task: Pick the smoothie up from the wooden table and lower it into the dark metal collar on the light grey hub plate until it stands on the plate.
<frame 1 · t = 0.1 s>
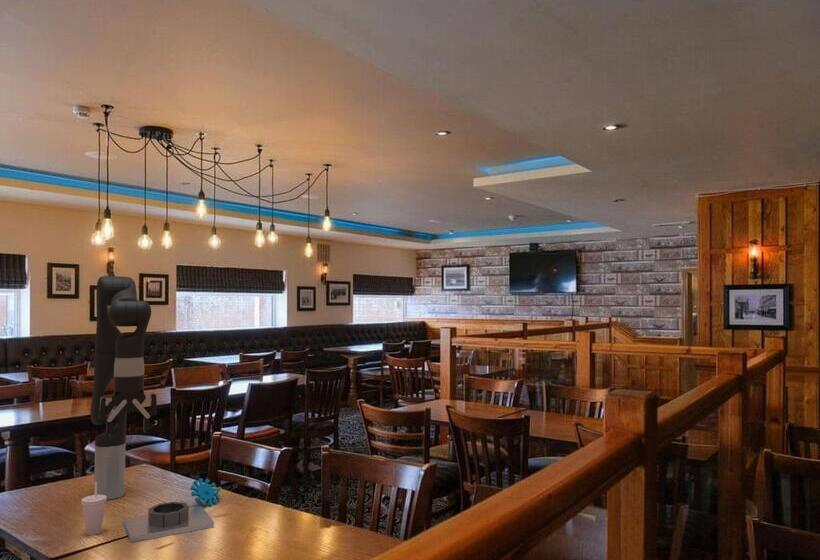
hand: (128, 433, 165), 29 cm above the table, tool pointing down, fingers open, 8 cm apart
hub plate: (168, 525, 176), on the table
smoothie: (93, 533, 170), on the table
gear: (206, 504, 195), on the table
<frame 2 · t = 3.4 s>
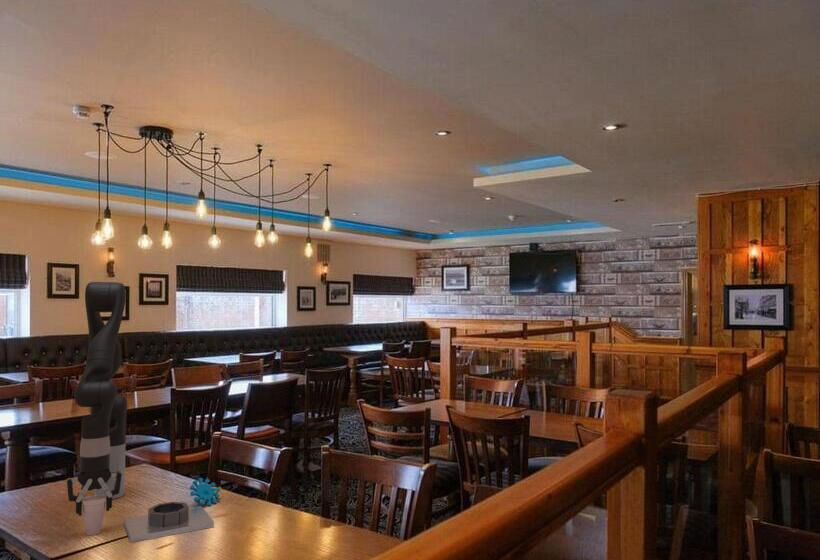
hand: (93, 512, 170), 6 cm above the table, tool pointing down, fingers closed on smoothie, 6 cm apart
smoothie: (93, 533, 170), on the table, touching gripper
everything else where it was.
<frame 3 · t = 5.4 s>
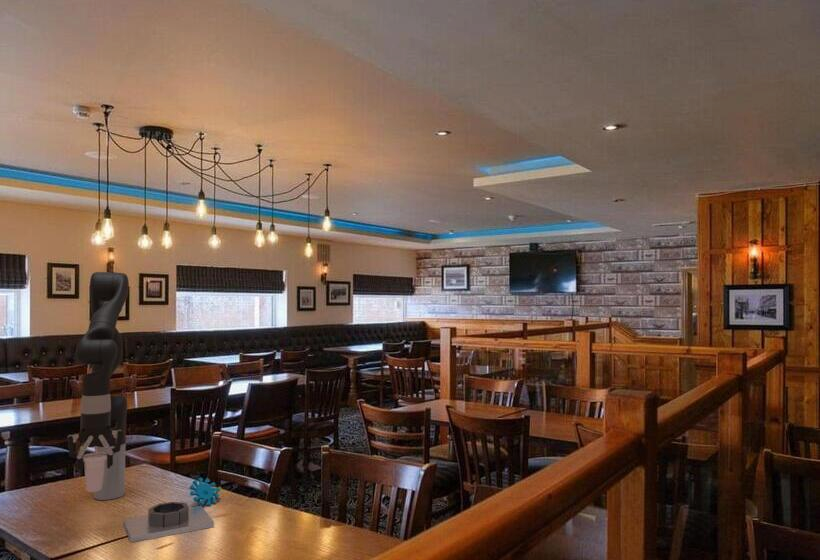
hand: (94, 469, 171), 18 cm above the table, tool pointing down, fingers closed on smoothie, 6 cm apart
smoothie: (94, 490, 171), point 12 cm above the table, touching gripper
everything else where it was.
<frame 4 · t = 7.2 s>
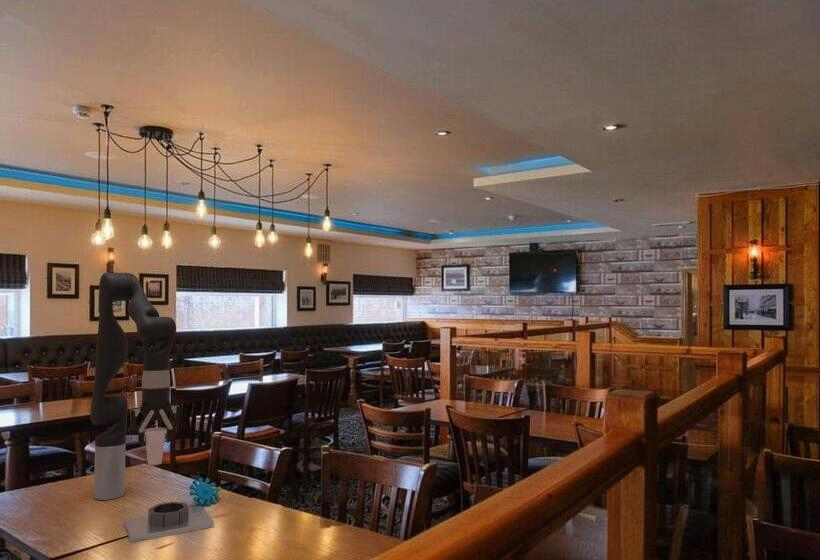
hand: (155, 443, 175), 24 cm above the table, tool pointing down, fingers closed on smoothie, 6 cm apart
smoothie: (154, 464, 175), point 18 cm above the table, touching gripper
everything else where it was.
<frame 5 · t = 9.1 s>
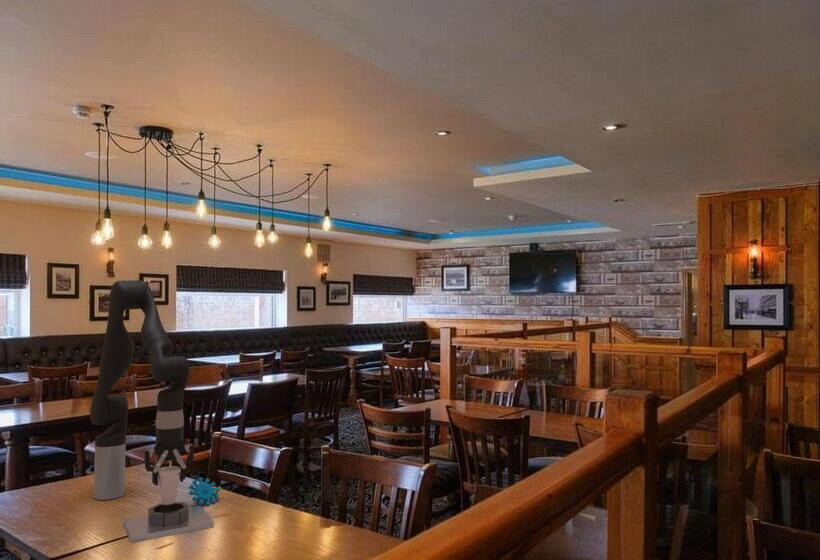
hand: (168, 482, 176), 12 cm above the table, tool pointing down, fingers closed on smoothie, 6 cm apart
smoothie: (168, 503, 176), point 6 cm above the table, touching gripper
everything else where it was.
when the fingers open (9 cm above the table, at t = 10.8 s): smoothie drops 1 cm, resting on hub plate.
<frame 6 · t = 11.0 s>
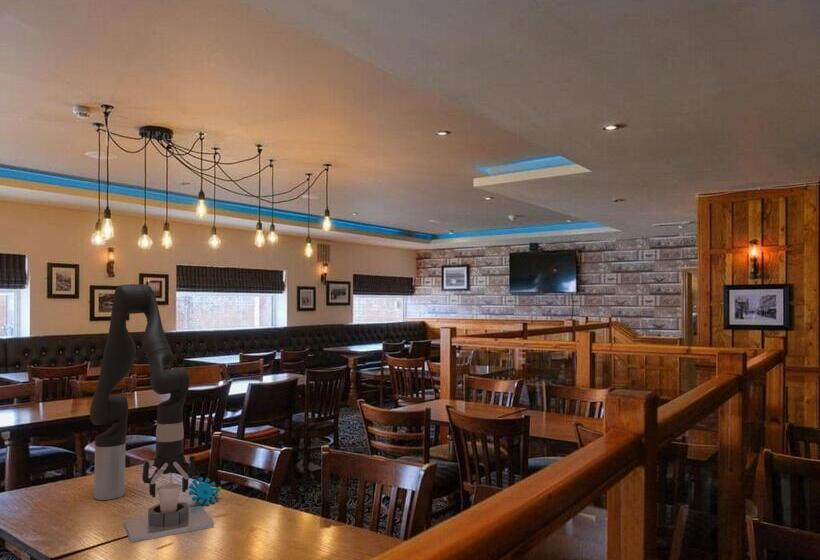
hand: (168, 494, 176), 9 cm above the table, tool pointing down, fingers open, 8 cm apart
smoothie: (168, 520, 176), point 1 cm above the table, touching hub plate
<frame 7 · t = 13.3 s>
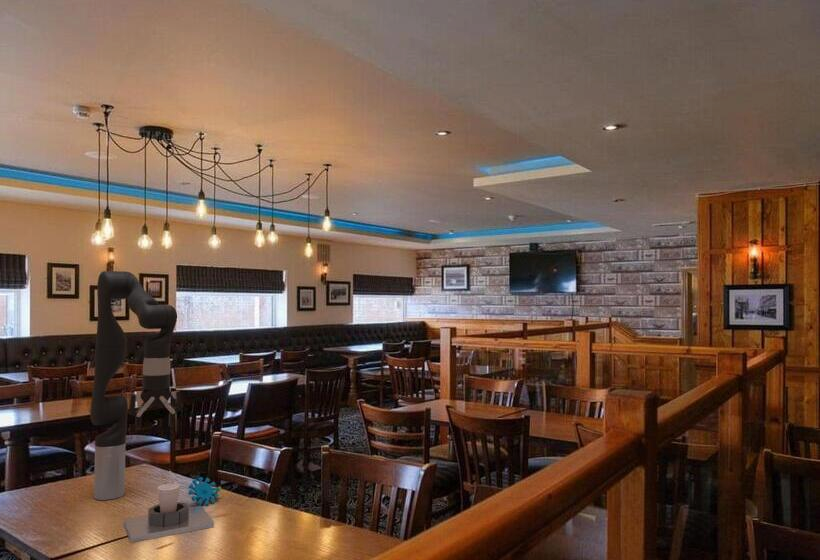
hand: (155, 427, 178), 28 cm above the table, tool pointing down, fingers open, 8 cm apart
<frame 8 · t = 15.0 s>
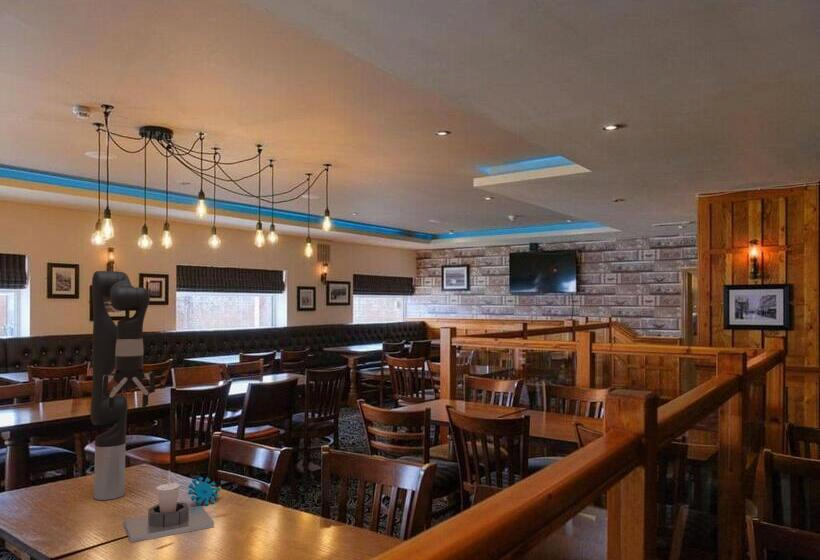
hand: (128, 408, 180), 33 cm above the table, tool pointing down, fingers open, 8 cm apart
at the end: smoothie 0.1 cm off-centre on the hub plate, point 1.3 cm above the hub plate's base; smoothie tilted 1°; the gripper is holding nothing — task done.
